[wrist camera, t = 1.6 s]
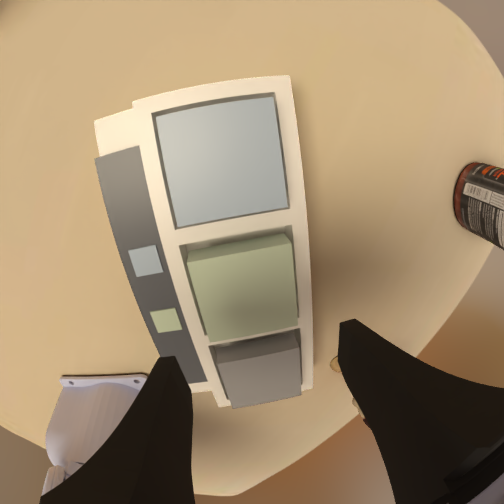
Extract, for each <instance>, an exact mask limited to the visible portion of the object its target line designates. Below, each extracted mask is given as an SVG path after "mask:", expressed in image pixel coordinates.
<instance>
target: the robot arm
mask: <svg viewBox="0 0 504 504" xmlns="http://www.w3.org/2000/svg"><path fill="white" fill-rule="evenodd" d="M337 361H338V364H339V366H340V369H341V372H342V374H343V377H344V379H345V382H346V384H347V386H348V388H349V389H350V391H351V393H352V395H353V397H354V399H355V400H356V402H357V404H358V406H359V408H360V409H361V411H362V413H363V415H364V417H365V418H366V420H367V422H368V424H369V426H370V428H371V430H372V432H373V434H374V436H375V439H376V442H377V444H378V447H379V449H380V452H381V455H382V458H383V460H384V463H385V466H386V469H387V472H388V476H389V479H390V483H391V486H392V490H393V494H394V498H395V502H396V504H504V388H498V387H493V386H488V385H484V384H479V383H475V382H472V381H468V380H466V379H462V378H459V377H456V376H454V375H451V374H448V373H446V372H444V371H441V370H439V369H437V368H435V367H432V366H430V365H428V364H426V363H424V362H422V361H420V360H419V359H417V358H415V357H413V356H411V355H410V354H408V353H406V352H405V351H403V350H401V349H400V348H398V347H396V346H395V345H393V344H392V343H390V342H389V341H387V340H386V339H384V338H383V337H381V336H380V335H378V334H377V333H375V332H374V331H372V330H371V329H369V328H368V327H367V326H365V325H364V324H362V323H361V322H359V321H358V320H356V319H352V320H348V321H345V322H341V323H340V331H339V347H338V360H337ZM59 381H60V383H61V384H62V386H63V389H62V391H61V394H60V396H59V399H58V401H57V404H56V407H55V409H54V412H53V414H52V417H51V420H50V423H49V425H48V428H47V432H46V450H47V453H48V456H49V459H50V460H51V462H52V463H53V465H54V466H55V467H50V468H49V469H48V472H47V475H46V479H45V483H44V487H43V491H42V496H41V499H40V503H39V504H195V499H194V492H193V483H192V474H191V454H192V428H193V407H192V394H191V389H190V387H189V385H188V383H187V381H186V379H185V376H184V374H183V372H182V370H181V368H180V366H179V363H178V361H177V359H176V357H175V356H168V357H159V359H158V360H157V362H156V363H155V365H154V367H153V369H152V371H151V372H150V374H149V376H148V377H147V376H146V375H143V374H136V375H120V376H93V377H60V379H59Z"/></svg>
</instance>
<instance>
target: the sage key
mask: <svg viewBox="0 0 504 504" xmlns="http://www.w3.org/2000/svg"><path fill="white" fill-rule="evenodd" d="M187 266H188V269H189V273H190V277H191V280H192V284H193V288H194V291H195V295H196V298H197V302H198V305H199V308H200V312H201V315H202V319H203V322H204V325H205V328H206V332H207V335H208V338H209V341H210V343H211V342H217V341H223V340H228V339H234V338H239V337H245V336H250V335H255V334H260V333H265V332H270V331H275V330H279V329H284V328H288V327H293V326H297V325H298V318H297V303H296V290H295V278H294V266H293V255H292V244H291V242H290V240H289V239H288V238H287V236H286V235H285V234H284V233H282V234H276V235H271V236H265V237H260V238H254V239H249V240H244V241H238V242H233V243H227V244H222V245H217V246H212V247H206V248H201V249H196V250H191V251H189V253H188V259H187Z"/></svg>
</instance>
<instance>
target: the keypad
mask: <svg viewBox="0 0 504 504" xmlns="http://www.w3.org/2000/svg"><path fill="white" fill-rule="evenodd" d="M268 97H273V99H274V106H275V112H276V119H277V126H278V133H279V140H280V148H281V155H282V163H283V171H284V179H285V188H286V196H287V205H288V207H285V208H279V209H273V210H267V211H262V212H256V213H250V214H244V215H239V216H233V217H228V218H223V219H217V220H212V221H207V222H202V223H196V224H191V225H186V226H181V227H178V226H177V221H176V217H175V213H174V208H173V204H172V200H171V195H170V190H169V186H168V181H167V176H166V171H165V166H164V161H163V156H162V150H161V145H160V139H159V134H158V128H157V122H156V117H157V116H161V115H166V114H170V113H174V112H179V111H183V110H188V109H193V108H198V107H203V106H209V105H215V104H221V103H227V102H234V101H241V100H249V99H258V98H268ZM132 104H133V108H132V109H128V110H125V111H122V112H119V113H116V114H113V115H110V116H107V117H104V118H101V119H98V120H95V121H94V126H95V132H96V138H97V144H98V149H99V154H100V157H98V158H95V164H96V169H97V173H98V178H99V182H100V187H101V191H102V195H103V199H104V203H105V206H106V210H107V214H108V218H109V221H110V225H111V228H112V231H113V235H114V238H115V241H116V245H117V248H118V251H119V254H120V257H121V260H122V263H123V266H124V269H125V272H126V274H127V277H128V280H129V283H130V285H131V288H132V291H133V293H134V296H135V299H136V301H137V304H138V306H139V309H140V311H141V314H142V316H143V318H144V321H145V323H146V326H147V328H148V330H149V332H150V335H151V337H152V339H153V341H154V344H155V346H156V348H157V350H158V352H159V354H160V357H168V356H175V357H176V359H177V361H178V363H179V366H180V368H181V370H182V372H183V374H184V376H185V379H186V381H187V383H188V385H189V387H190V389H191V393H197V392H205V391H212V393H213V395H214V397H215V400H216V402H217V404H218V407H224V406H231V403H230V400H229V397H228V394H227V392H226V389H225V386H224V383H223V380H222V377H221V374H220V371H219V369H218V366H217V356H216V348H219V347H225V346H230V345H236V344H241V343H247V342H252V341H257V340H262V339H267V338H272V337H276V336H281V335H286V334H290V333H294V336H295V338H296V341H297V343H298V345H299V351H300V371H301V391H304V390H308V389H312V388H313V315H312V288H311V267H310V251H309V236H308V223H307V211H306V200H305V189H304V179H303V170H302V161H301V152H300V144H299V136H298V128H297V121H296V114H295V107H294V100H293V94H292V87H291V81H290V75H280V76H266V77H255V78H245V79H237V80H229V81H222V82H216V83H209V84H204V85H198V86H193V87H188V88H183V89H178V90H174V91H170V92H165V93H161V94H157V95H153V96H150V97H146V98H142V99H139V100H135V101H132ZM282 233H284V234H285V235H286V236H287V238H288V239H289V240H290V242H291V244H292V255H293V266H294V278H295V290H296V303H297V318H298V325H297V326H293V327H288V328H284V329H279V330H275V331H270V332H265V333H260V334H255V335H250V336H245V337H239V338H234V339H228V340H223V341H217V342H211V343H210V341H209V338H208V335H207V332H206V328H205V325H204V322H203V319H202V315H201V312H200V308H199V305H198V302H197V298H196V295H195V291H194V288H193V284H192V280H191V277H190V273H189V269H188V266H187V259H188V253H189V251H191V250H196V249H201V248H206V247H212V246H217V245H222V244H227V243H233V242H238V241H244V240H249V239H254V238H260V237H265V236H271V235H276V234H282Z"/></svg>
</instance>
